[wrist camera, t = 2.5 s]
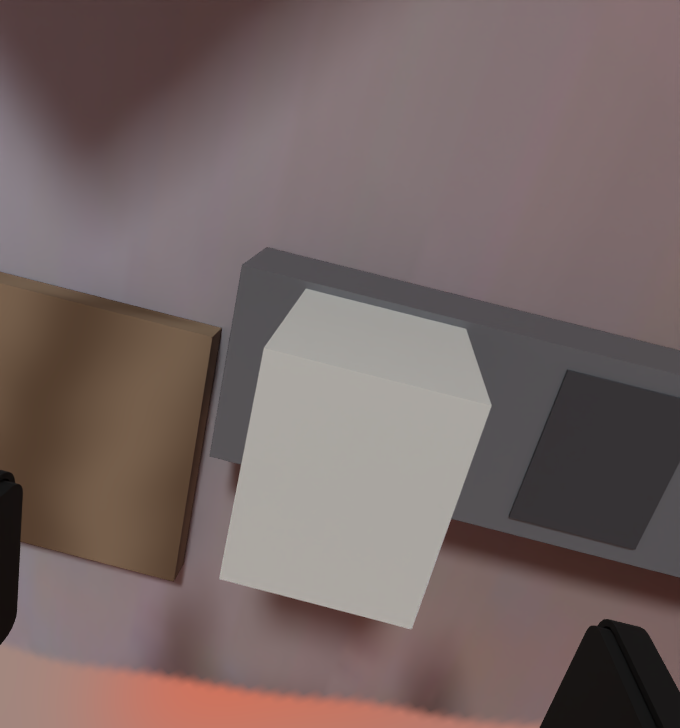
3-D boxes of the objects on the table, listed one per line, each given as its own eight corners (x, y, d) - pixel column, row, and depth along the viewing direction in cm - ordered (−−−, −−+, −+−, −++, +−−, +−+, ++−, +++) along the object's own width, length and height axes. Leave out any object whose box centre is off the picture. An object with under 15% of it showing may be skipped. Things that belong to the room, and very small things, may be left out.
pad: (221, 327, 20) (212, 337, 19) (182, 564, 23) (173, 581, 22) (-67, 254, 20) (-90, 260, 19) (-61, 500, 23) (-80, 515, 22)
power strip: (799, 380, 18) (893, 436, 15) (711, 536, 20) (776, 618, 17) (266, 247, 19) (233, 270, 15) (236, 414, 21) (200, 469, 17)
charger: (459, 309, 18) (491, 405, 11) (409, 468, 20) (412, 629, 13) (316, 273, 18) (263, 347, 11) (281, 435, 20) (218, 579, 13)
